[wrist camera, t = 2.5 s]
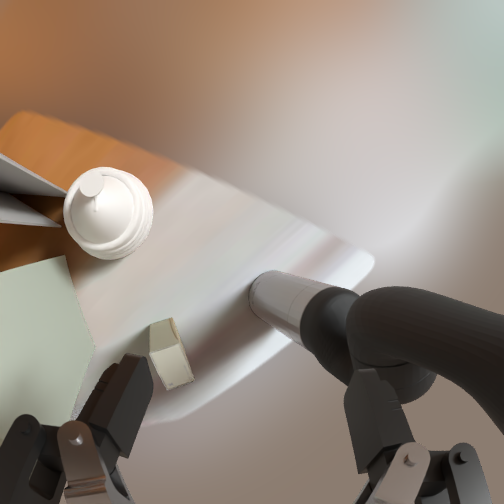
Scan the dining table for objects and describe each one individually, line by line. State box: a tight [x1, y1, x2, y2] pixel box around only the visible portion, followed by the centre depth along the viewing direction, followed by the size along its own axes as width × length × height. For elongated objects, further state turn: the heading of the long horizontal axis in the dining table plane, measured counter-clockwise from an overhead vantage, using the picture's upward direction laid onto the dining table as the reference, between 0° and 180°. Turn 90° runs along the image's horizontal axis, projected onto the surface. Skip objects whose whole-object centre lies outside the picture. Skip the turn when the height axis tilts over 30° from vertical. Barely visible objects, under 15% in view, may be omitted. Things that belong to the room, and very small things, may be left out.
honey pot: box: [63, 167, 153, 260], centre depth 30 cm, size 13×13×18 cm
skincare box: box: [149, 318, 195, 390], centre depth 37 cm, size 6×4×12 cm
